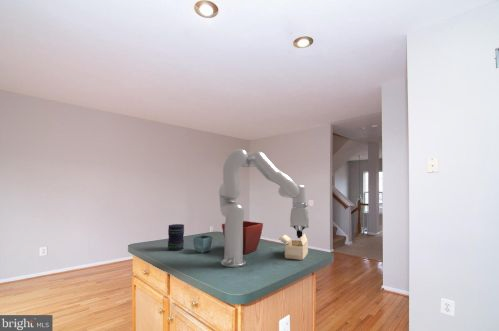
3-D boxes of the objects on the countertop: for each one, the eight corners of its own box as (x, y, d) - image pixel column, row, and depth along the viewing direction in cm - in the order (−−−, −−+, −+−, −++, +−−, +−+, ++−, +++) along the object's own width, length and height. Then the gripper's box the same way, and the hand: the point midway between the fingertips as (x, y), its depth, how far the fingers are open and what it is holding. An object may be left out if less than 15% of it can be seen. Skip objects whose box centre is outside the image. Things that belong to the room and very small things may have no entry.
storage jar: (186, 247, 159) (187, 224, 160) (178, 251, 149) (179, 226, 151) (172, 246, 161) (173, 223, 162) (164, 250, 152) (165, 226, 153)
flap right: (302, 245, 134) (303, 245, 134) (299, 238, 135) (300, 237, 135) (306, 240, 146) (307, 240, 146) (304, 233, 147) (305, 233, 147)
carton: (302, 260, 132) (302, 247, 132) (284, 258, 136) (284, 245, 136) (308, 252, 147) (307, 240, 148) (291, 250, 151) (291, 239, 152)
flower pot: (212, 251, 151) (212, 236, 152) (202, 254, 143) (203, 238, 144) (202, 249, 156) (202, 234, 156) (192, 252, 148) (192, 237, 149)
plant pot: (245, 257, 138) (245, 227, 139) (220, 251, 149) (220, 223, 150) (263, 250, 153) (263, 223, 154) (240, 245, 164) (240, 220, 166)
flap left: (279, 238, 139) (278, 239, 140) (285, 243, 138) (284, 244, 138) (285, 234, 152) (285, 234, 152) (290, 239, 150) (290, 239, 150)
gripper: (312, 205, 144) (313, 237, 142) (288, 205, 150) (288, 235, 148) (310, 206, 137) (311, 240, 135) (284, 206, 143) (285, 237, 141)
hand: (299, 237), depth 142 cm, fingers closed
